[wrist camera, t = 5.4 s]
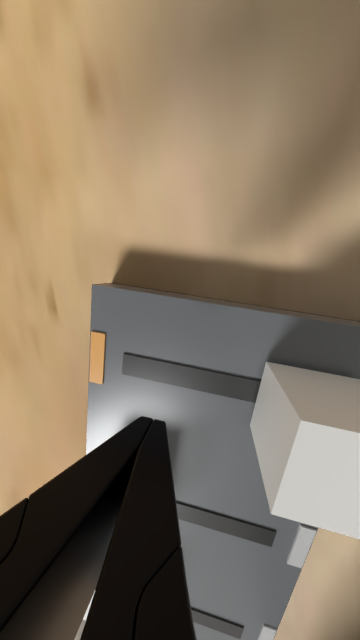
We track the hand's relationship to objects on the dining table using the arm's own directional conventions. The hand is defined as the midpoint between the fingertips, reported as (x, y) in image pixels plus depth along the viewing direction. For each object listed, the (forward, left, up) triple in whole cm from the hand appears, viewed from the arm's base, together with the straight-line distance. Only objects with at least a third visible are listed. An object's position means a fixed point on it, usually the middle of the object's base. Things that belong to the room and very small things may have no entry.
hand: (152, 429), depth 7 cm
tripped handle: (-6, 0, -4) cm, 7 cm away
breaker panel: (-2, +9, -6) cm, 11 cm away
